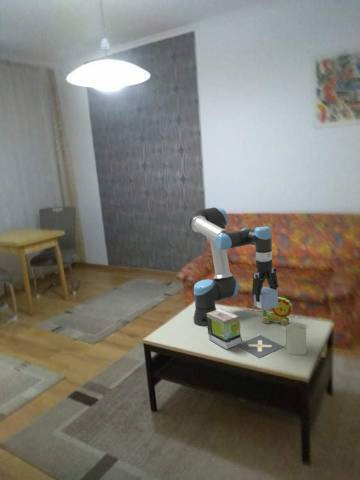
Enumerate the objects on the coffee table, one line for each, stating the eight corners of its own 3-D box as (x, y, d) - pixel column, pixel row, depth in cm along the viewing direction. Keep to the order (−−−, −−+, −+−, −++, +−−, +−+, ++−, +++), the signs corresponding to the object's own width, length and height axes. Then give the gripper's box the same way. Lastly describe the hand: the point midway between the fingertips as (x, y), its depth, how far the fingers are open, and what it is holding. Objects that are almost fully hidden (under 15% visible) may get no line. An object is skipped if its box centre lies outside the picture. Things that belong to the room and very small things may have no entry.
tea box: (242, 343, 180) (240, 315, 177) (226, 350, 175) (224, 321, 172) (223, 333, 193) (220, 307, 190) (207, 339, 188) (205, 312, 185)
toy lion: (262, 323, 200) (261, 297, 197) (264, 319, 205) (263, 294, 202) (291, 327, 193) (291, 300, 190) (293, 322, 198) (292, 296, 195)
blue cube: (254, 306, 176) (253, 290, 174) (265, 301, 180) (265, 286, 179) (266, 310, 169) (265, 294, 168) (278, 305, 174) (277, 290, 172)
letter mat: (236, 345, 179) (236, 344, 179) (260, 335, 187) (260, 334, 187) (259, 358, 166) (259, 357, 166) (283, 346, 174) (283, 346, 173)
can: (308, 355, 164) (307, 331, 162) (287, 355, 166) (286, 330, 164) (305, 345, 173) (304, 322, 171) (285, 345, 175) (284, 322, 173)
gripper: (253, 266, 162) (256, 313, 166) (285, 256, 172) (286, 301, 177) (242, 263, 168) (244, 308, 172) (273, 253, 179) (274, 297, 183)
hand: (265, 304), depth 175 cm, fingers closed on blue cube, 8 cm apart
